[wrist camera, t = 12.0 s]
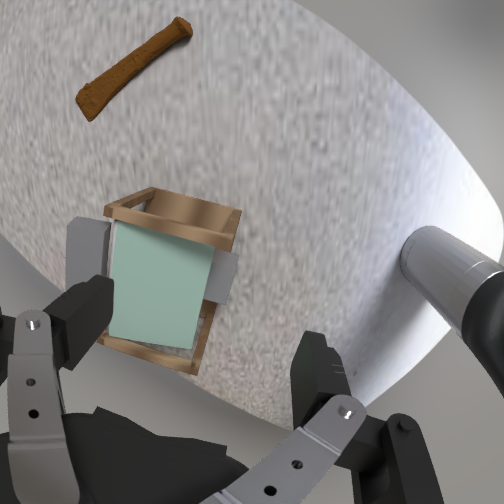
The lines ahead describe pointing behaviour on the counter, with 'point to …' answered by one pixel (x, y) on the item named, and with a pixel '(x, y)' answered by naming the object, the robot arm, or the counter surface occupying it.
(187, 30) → the primitive tool
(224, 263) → the stone
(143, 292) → the trapdoor
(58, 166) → the counter surface
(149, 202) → the wooden box frame
